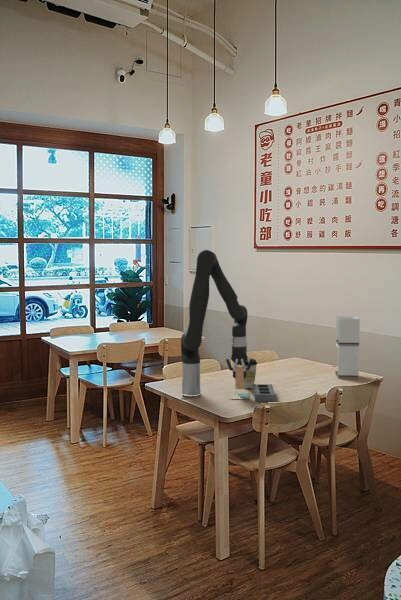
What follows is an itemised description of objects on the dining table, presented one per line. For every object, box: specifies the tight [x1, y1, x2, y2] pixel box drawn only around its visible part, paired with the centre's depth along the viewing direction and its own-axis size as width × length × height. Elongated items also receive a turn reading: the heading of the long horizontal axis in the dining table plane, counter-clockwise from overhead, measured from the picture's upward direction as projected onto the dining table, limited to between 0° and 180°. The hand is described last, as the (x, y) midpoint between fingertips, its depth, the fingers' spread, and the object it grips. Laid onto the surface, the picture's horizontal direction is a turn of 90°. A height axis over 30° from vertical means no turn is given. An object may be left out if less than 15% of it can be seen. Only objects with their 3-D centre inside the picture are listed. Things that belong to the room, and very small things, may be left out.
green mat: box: [234, 392, 250, 400], centre depth 272 cm, size 10×10×1 cm
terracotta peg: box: [234, 365, 245, 390], centre depth 271 cm, size 4×4×11 cm
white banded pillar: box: [334, 315, 361, 380], centre depth 312 cm, size 11×11×35 cm
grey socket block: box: [252, 383, 277, 403], centre depth 271 cm, size 10×20×4 cm, turn 178°
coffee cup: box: [239, 358, 258, 389], centre depth 290 cm, size 10×10×15 cm
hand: (239, 378), depth 271 cm, fingers closed on terracotta peg, 4 cm apart
